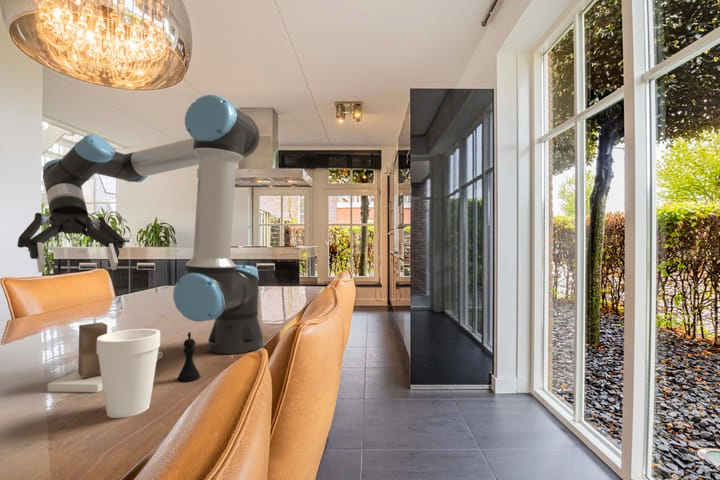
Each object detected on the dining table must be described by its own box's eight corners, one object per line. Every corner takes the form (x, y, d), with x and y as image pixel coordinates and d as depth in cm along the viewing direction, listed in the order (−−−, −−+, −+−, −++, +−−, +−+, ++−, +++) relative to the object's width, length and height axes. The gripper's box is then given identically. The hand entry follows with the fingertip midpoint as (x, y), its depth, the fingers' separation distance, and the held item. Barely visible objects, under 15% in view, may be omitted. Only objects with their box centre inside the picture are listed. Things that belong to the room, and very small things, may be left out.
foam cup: (116, 399, 68) (117, 329, 68) (168, 397, 68) (169, 328, 69) (82, 423, 58) (83, 342, 58) (142, 421, 59) (143, 341, 59)
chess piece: (174, 383, 75) (175, 335, 76) (180, 375, 80) (181, 330, 80) (197, 381, 76) (198, 333, 77) (201, 374, 81) (202, 329, 81)
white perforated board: (162, 357, 93) (162, 351, 93) (97, 392, 71) (97, 384, 71) (124, 357, 93) (124, 350, 93) (47, 391, 71) (47, 383, 71)
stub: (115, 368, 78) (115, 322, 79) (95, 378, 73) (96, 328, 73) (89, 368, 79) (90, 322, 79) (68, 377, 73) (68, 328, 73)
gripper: (119, 219, 104) (136, 275, 95) (-3, 212, 86) (3, 281, 76) (126, 200, 101) (145, 255, 91) (1, 187, 82) (7, 256, 72)
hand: (80, 267), depth 83 cm, fingers open, 13 cm apart
